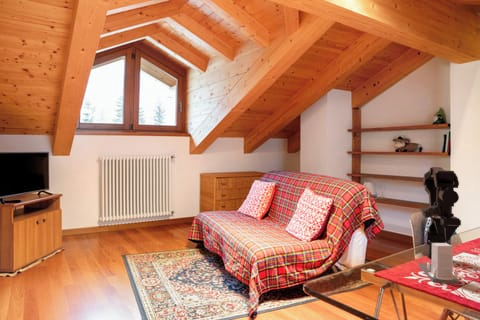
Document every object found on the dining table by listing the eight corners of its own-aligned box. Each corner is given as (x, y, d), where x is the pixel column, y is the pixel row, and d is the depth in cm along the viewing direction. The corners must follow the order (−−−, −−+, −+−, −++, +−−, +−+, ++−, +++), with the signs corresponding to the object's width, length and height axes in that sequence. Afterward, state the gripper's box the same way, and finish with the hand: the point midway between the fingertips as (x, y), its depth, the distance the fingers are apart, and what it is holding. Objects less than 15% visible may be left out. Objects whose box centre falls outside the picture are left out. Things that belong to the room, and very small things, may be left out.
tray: (418, 265, 146) (418, 254, 145) (441, 267, 144) (441, 256, 144) (433, 282, 128) (433, 269, 128) (459, 284, 126) (459, 271, 126)
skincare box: (445, 272, 134) (446, 242, 134) (452, 276, 130) (453, 245, 129) (430, 272, 134) (431, 242, 133) (437, 277, 130) (438, 246, 129)
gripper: (416, 196, 153) (415, 230, 153) (430, 203, 134) (429, 242, 135) (443, 197, 150) (442, 232, 151) (462, 204, 132) (460, 244, 133)
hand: (443, 237), depth 142 cm, fingers open, 9 cm apart
